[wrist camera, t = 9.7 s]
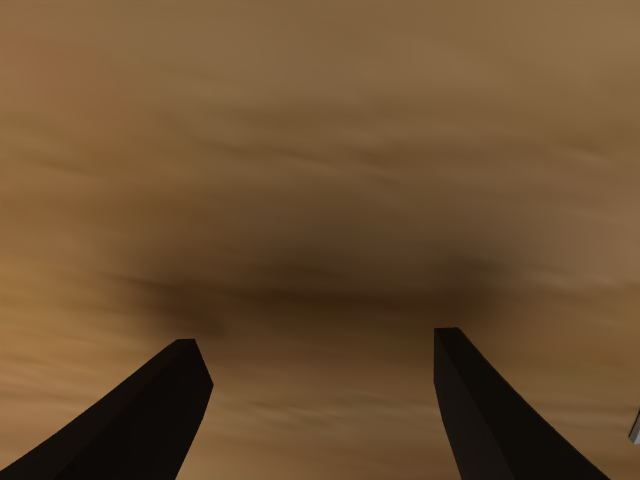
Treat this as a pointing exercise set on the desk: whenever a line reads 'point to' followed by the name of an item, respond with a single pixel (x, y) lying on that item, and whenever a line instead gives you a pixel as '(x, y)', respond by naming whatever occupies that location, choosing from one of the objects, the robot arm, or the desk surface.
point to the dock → (636, 433)
